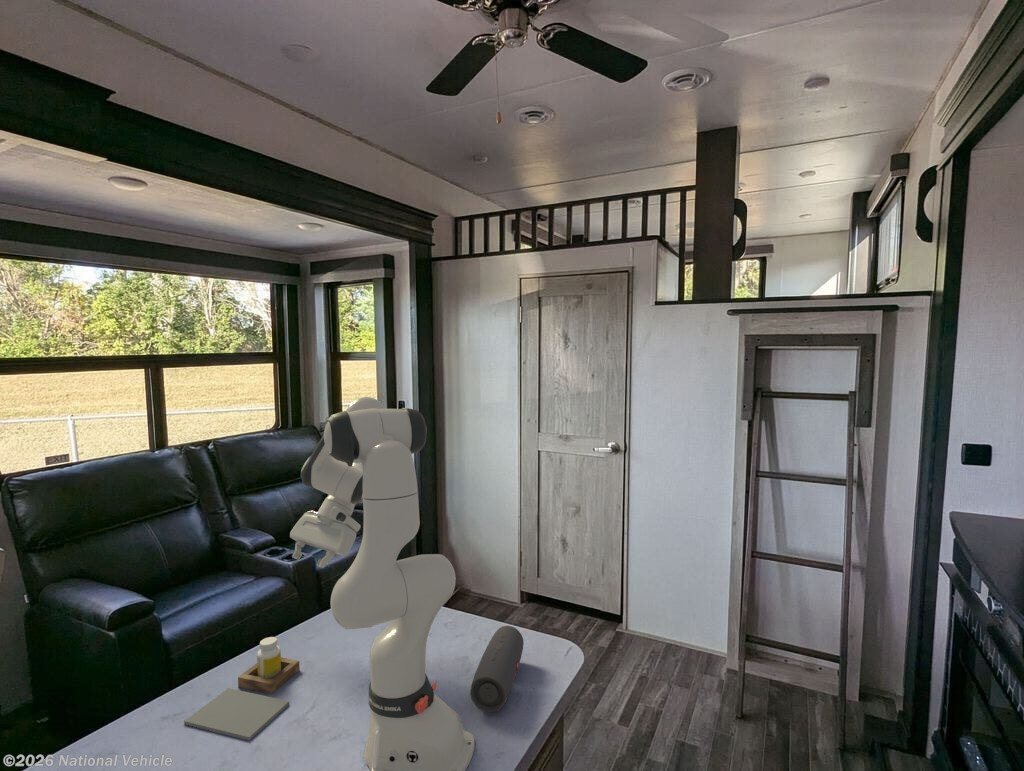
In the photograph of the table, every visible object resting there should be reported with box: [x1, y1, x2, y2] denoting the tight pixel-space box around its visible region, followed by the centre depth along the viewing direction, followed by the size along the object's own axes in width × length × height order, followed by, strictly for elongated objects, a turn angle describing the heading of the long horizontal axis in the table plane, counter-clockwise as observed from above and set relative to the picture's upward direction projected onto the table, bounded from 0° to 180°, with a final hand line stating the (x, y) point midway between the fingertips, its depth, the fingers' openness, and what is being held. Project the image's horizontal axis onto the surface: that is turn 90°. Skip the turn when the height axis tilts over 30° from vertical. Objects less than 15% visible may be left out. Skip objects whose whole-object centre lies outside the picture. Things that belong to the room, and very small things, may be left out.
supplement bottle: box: [256, 636, 282, 679], centre depth 130 cm, size 5×5×10 cm
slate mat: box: [183, 687, 290, 742], centre depth 117 cm, size 18×12×1 cm, turn 73°
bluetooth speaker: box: [470, 625, 524, 713], centre depth 126 cm, size 23×9×10 cm, turn 168°
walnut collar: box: [237, 656, 300, 695], centre depth 130 cm, size 10×10×2 cm
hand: (307, 562), depth 140 cm, fingers open, 8 cm apart
